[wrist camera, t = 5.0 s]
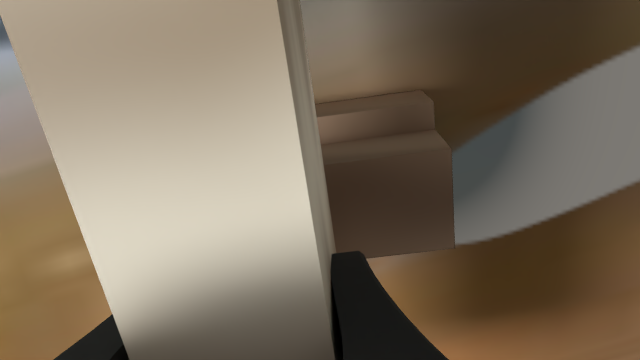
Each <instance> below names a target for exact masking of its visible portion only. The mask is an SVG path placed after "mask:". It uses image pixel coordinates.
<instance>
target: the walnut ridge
mask: <svg viewBox="0 0 640 360" xmlns="http://www.w3.org/2000/svg"><path fill="white" fill-rule="evenodd" d="M315 109H316V116H317V123H318V130H319V137H320V144H321V151H322V158H323V165H324V172H325V178H326V185H327V192H328V199H329V206H330V213H331V220H332V227H333V234H334V241H335V247H336V253H342V252H351V251H360V252H361V253H363V254H364V255H365V258H366V259H367V258H375V257H384V256H392V255H401V254H410V253H418V252H427V251H435V250H444V249H453V248H455V239H454V238H455V236H454V207H453V179H452V150H451V148H450V146H449V145H448V144H447V143H446V142H445V140H444V139H443V138H442V137H441V136H440V135H439V133H438V132H437V131H436V130H435V117H434V102H433V101H432V100H431V99H430V98H429V97H428V96H427V95H426V94H425V93H424V92H423V91H422V90H417V91H409V92H402V93H395V94H387V95H380V96H373V97H365V98H358V99H351V100H343V101H336V102H329V103H321V104H315Z"/></svg>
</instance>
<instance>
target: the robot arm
mask: <svg viewBox="0 0 640 360" xmlns="http://www.w3.org/2000/svg"><path fill="white" fill-rule="evenodd" d="M331 282H332V288H333V295H334V301H335V308H336V314H337V321H338V327H339V334H340V340H341V347H342V353H343V360H449V359H447V358H446V357H445V356H444V355H443V354H442V353H441V352H440V351H439V350H438V349H437V348H436V347H435V346H434V345H433V344H432V343H430V342H429V340H428V339H427V338H426V337H425V336H424V335H423V334H422V333H421V332H420V331H419V330H418V329H417V328H416V327H415V326H414V325H413V324H412V322H411V321H410V320H409V319H408V318H407V317H406V316H405V315H404V313H403V312H402V311H401V310H400V309H399V307H398V306H397V305H396V304H395V302H394V301H393V300H392V298H391V297H390V296H389V295H388V293H387V292H386V291H385V289H384V288H383V287H382V285H381V284H380V282H379V281H378V279H377V278H376V276H375V275H374V273H373V271H372V270H371V268H370V266H369V264H368V262H367V260H366V258H365V255H364V254H363V253H361V252H360V251H351V252H342V253H334V254H332V257H331ZM54 360H130V359H129V357H128V354H127V351H126V349H125V346H124V343H123V341H122V338H121V335H120V333H119V330H118V327H117V325H116V322H115V319H114V317H113V314H112V315H111V316H110V317H108V318H107V319H106V320H105V321H103V322H102V323H101V324H100V325H98V326H97V327H96V328H95V329H93V330H92V331H91V332H90V333H88V334H87V335H86V336H84V337H83V338H82V339H80V340H79V341H78V342H76V343H75V344H74V345H72V346H71V347H70V348H68V349H67V350H66V351H64V352H63V353H62V354H60V355H59V356H58V357H56V358H55V359H54Z"/></svg>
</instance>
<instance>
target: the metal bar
mask: <svg viewBox="0 0 640 360" xmlns="http://www.w3.org/2000/svg"><path fill="white" fill-rule="evenodd" d="M0 16H1V18H2V21H3V24H4V26H5V29H6V32H7V34H8V37H9V40H10V42H11V45H12V48H13V50H14V53H15V56H16V58H17V61H18V64H19V66H20V69H21V72H22V74H23V77H24V80H25V82H26V85H27V88H28V90H29V93H30V96H31V98H32V101H33V104H34V106H35V109H36V112H37V114H38V117H39V120H40V122H41V125H42V128H43V130H44V133H45V136H46V138H47V141H48V144H49V146H50V149H51V152H52V154H53V157H54V160H55V162H56V165H57V168H58V170H59V173H60V176H61V178H62V181H63V184H64V186H65V189H66V192H67V194H68V197H69V200H70V202H71V205H72V208H73V210H74V213H75V216H76V218H77V221H78V224H79V226H80V229H81V232H82V234H83V237H84V240H85V242H86V245H87V247H88V250H89V253H90V255H91V258H92V261H93V263H94V266H95V269H96V271H97V274H98V277H99V279H100V282H101V285H102V287H103V290H104V293H105V295H106V298H107V301H108V303H109V306H110V309H111V311H112V314H113V317H114V319H115V322H116V325H117V327H118V330H119V333H120V335H121V338H122V341H123V343H124V346H125V349H126V351H127V354H128V357H129V359H130V360H343V353H342V347H341V340H340V334H339V327H338V321H337V314H336V308H335V301H334V295H333V288H332V282H331V257H332V254H334V253H336V247H335V241H334V234H333V227H332V220H331V213H330V206H329V199H328V192H327V185H326V178H325V172H324V165H323V158H322V151H321V144H320V137H319V130H318V123H317V116H316V109H315V103H314V96H313V89H312V82H311V75H310V68H309V61H308V54H307V47H306V40H305V33H304V27H303V20H302V13H301V6H300V0H0Z"/></svg>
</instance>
